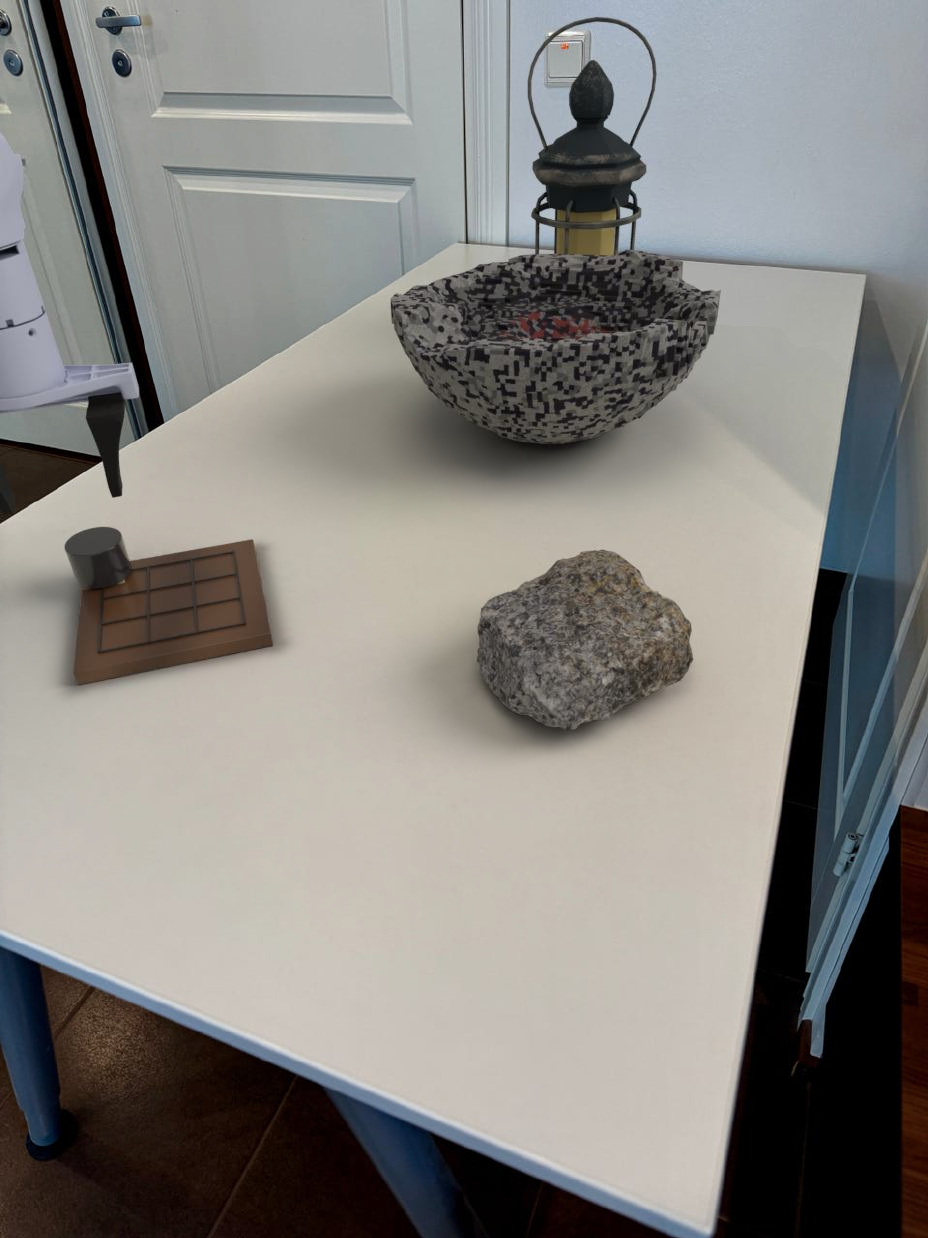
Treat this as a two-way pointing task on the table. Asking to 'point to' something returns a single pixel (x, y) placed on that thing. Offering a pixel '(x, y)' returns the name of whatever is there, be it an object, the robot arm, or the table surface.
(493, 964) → the table surface
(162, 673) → the table surface
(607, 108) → the lantern
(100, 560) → the dark grey cylinder
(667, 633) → the rock
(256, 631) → the board
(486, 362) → the bowl
